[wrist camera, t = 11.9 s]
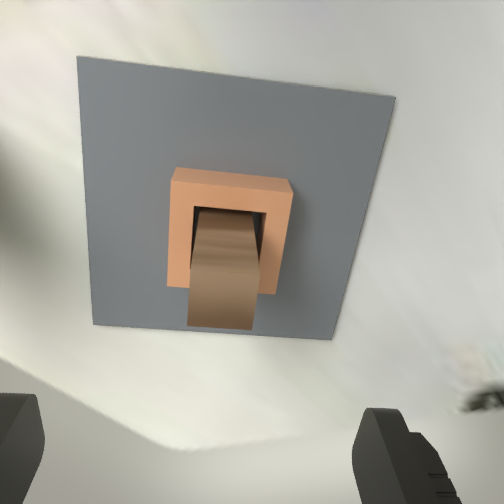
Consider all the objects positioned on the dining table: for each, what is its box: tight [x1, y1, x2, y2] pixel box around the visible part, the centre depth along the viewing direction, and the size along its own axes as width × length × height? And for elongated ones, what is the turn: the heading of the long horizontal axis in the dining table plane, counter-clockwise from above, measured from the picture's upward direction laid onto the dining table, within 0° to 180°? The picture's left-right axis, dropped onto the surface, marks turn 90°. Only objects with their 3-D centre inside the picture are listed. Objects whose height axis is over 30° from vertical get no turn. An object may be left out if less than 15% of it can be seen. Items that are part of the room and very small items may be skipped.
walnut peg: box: [187, 206, 260, 330], centre depth 26 cm, size 4×4×10 cm
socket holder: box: [77, 55, 396, 340], centre depth 29 cm, size 20×20×4 cm
